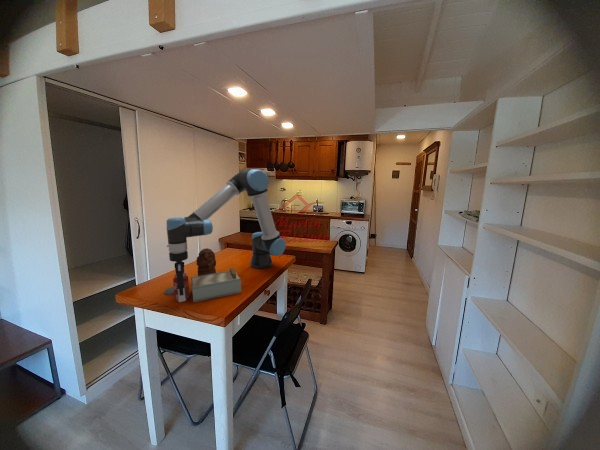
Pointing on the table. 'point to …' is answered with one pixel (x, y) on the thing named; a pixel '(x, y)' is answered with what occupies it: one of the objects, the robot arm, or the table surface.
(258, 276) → the table surface
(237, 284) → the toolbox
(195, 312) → the table surface
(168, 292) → the coaster
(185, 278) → the beverage can
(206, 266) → the wooden figurine
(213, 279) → the lid
